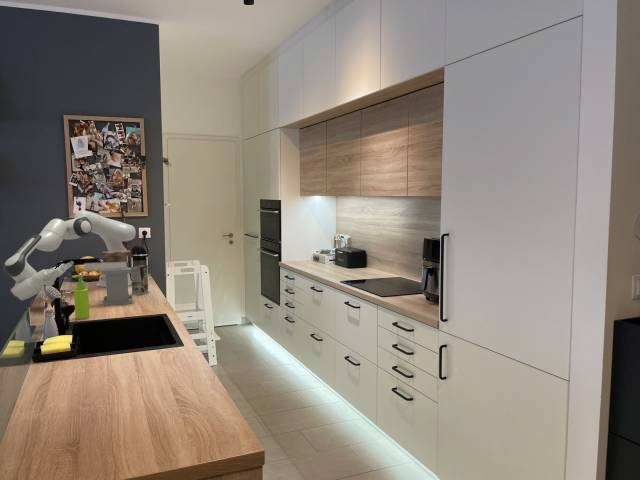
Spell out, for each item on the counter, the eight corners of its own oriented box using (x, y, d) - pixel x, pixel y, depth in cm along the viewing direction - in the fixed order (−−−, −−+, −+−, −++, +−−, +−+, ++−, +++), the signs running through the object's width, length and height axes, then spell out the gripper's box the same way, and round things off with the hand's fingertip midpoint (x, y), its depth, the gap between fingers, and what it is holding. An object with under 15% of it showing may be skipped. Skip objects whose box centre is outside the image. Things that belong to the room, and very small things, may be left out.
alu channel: (84, 271, 252) (83, 264, 252) (84, 270, 256) (84, 263, 256) (126, 269, 259) (126, 262, 259) (126, 268, 263) (126, 261, 263)
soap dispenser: (70, 318, 228) (68, 275, 226) (83, 315, 234) (81, 273, 232) (78, 320, 225) (76, 276, 224) (92, 317, 231) (90, 274, 230)
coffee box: (143, 295, 282) (142, 266, 281) (131, 295, 283) (130, 266, 281) (148, 292, 291) (147, 264, 290) (137, 292, 292) (136, 264, 290)
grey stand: (102, 306, 255) (101, 271, 253) (103, 302, 262) (102, 268, 261) (132, 303, 260) (130, 269, 258) (132, 300, 267) (130, 267, 265)
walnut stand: (104, 301, 265) (101, 253, 263) (104, 298, 272) (102, 251, 270) (132, 299, 270) (130, 251, 268) (132, 297, 277) (130, 250, 275)
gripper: (38, 275, 238) (65, 260, 241) (45, 270, 257) (70, 255, 260) (46, 286, 239) (73, 271, 243) (52, 280, 258) (77, 266, 262)
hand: (72, 263), depth 252 cm, fingers open, 8 cm apart
